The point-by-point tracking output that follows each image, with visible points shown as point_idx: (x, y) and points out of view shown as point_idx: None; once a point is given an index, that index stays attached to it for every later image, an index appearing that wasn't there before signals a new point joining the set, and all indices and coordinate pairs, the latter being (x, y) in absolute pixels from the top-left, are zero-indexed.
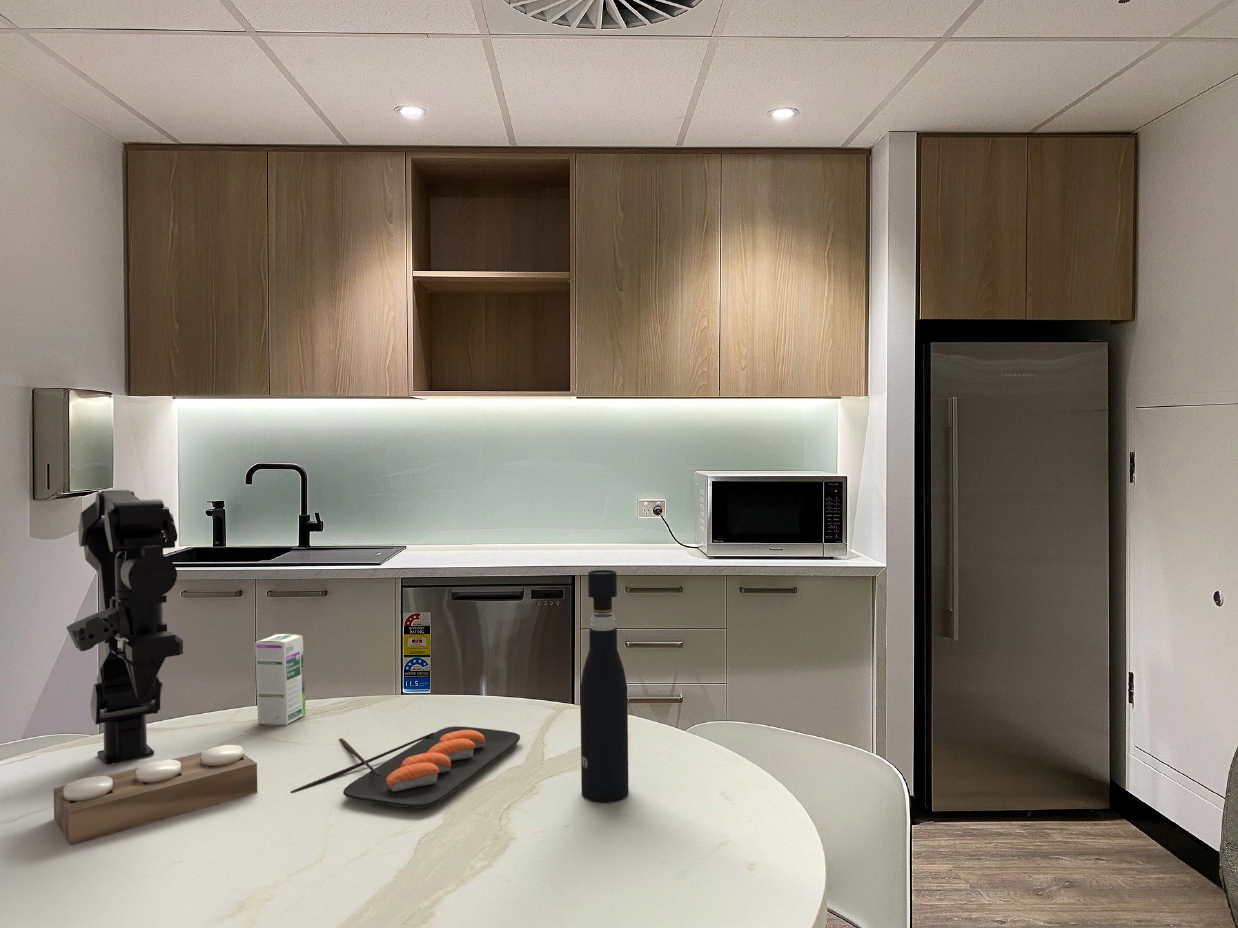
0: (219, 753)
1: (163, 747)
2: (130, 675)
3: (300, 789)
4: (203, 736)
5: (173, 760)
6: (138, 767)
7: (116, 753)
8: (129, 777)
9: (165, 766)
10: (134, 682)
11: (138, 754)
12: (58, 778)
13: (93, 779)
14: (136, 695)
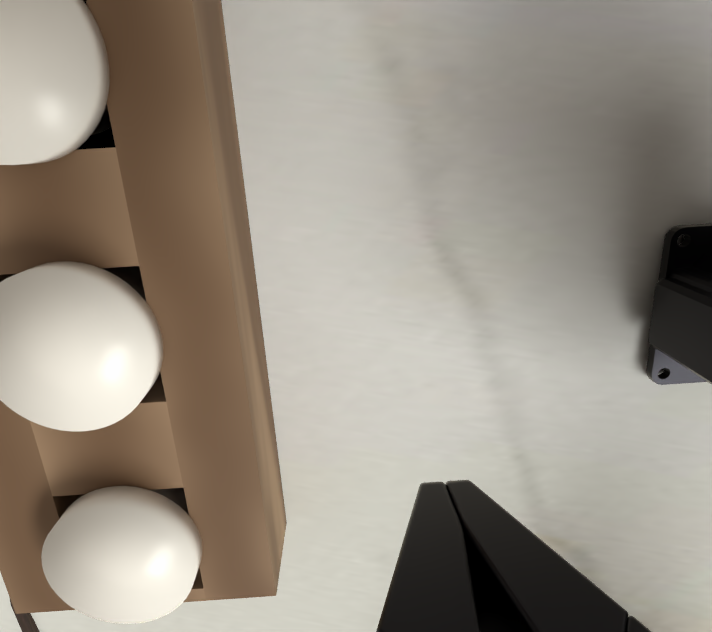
0: (101, 556)
1: (702, 414)
2: (577, 623)
3: (17, 618)
4: (701, 528)
5: (120, 415)
6: (231, 294)
7: (704, 270)
8: (122, 243)
9: (54, 377)
10: (418, 585)
11: (650, 334)
12: (681, 49)
13: (48, 88)
14: (451, 493)
